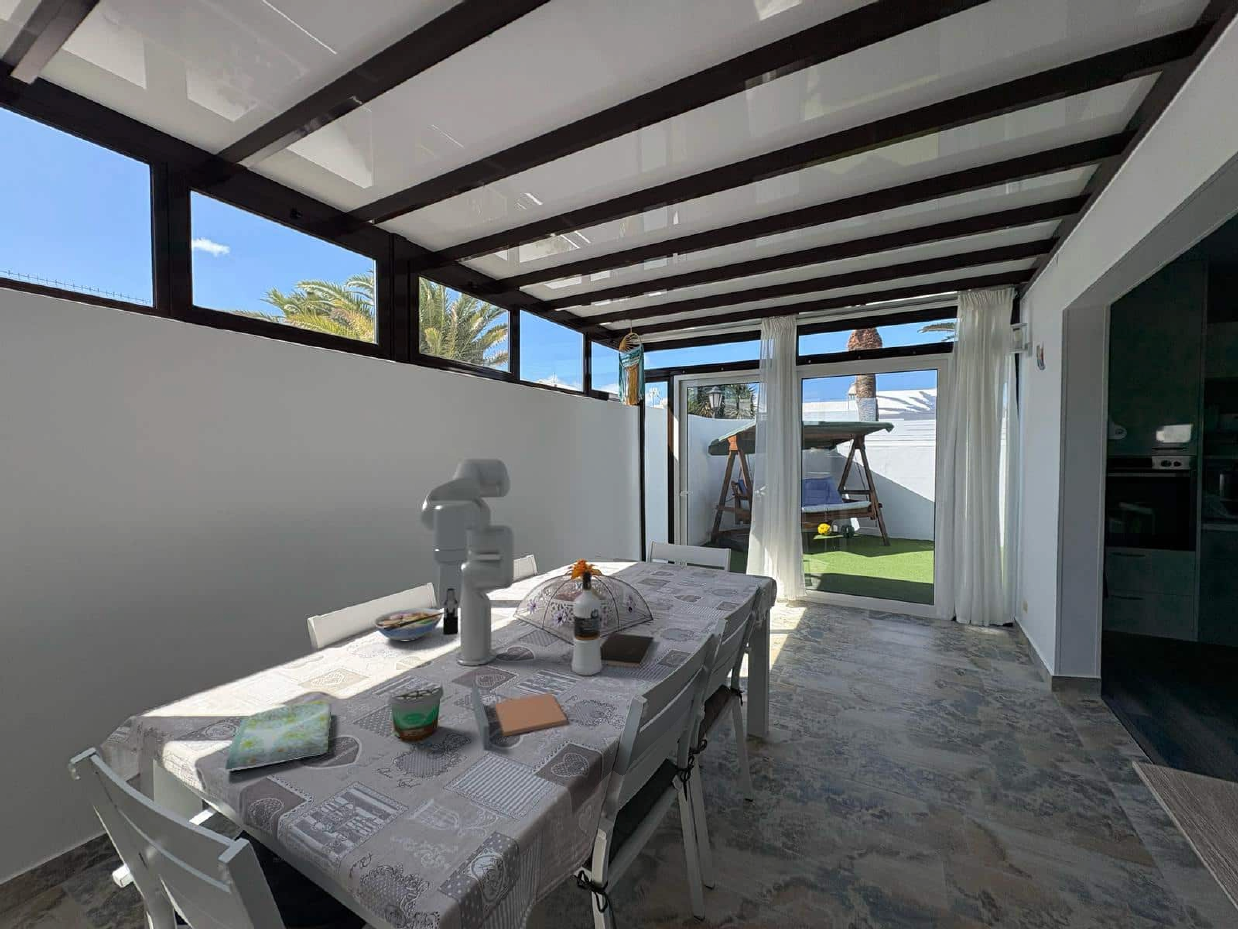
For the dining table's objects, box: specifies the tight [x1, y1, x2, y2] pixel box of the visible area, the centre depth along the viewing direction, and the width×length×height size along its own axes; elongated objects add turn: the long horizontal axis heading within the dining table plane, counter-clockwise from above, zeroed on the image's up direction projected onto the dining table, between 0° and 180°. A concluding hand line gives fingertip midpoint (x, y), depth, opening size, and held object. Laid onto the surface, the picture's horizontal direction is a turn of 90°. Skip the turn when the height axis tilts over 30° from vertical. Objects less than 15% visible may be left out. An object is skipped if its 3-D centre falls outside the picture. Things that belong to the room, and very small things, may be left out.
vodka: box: [571, 570, 603, 676], centre depth 154 cm, size 9×9×30 cm
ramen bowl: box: [373, 607, 444, 641], centre depth 181 cm, size 25×23×8 cm
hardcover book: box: [600, 632, 655, 668], centre depth 169 cm, size 16×23×2 cm
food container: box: [387, 685, 445, 743], centre depth 117 cm, size 12×6×10 cm, turn 117°
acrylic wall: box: [471, 684, 490, 750], centre depth 123 cm, size 22×1×5 cm, turn 22°
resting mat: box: [493, 692, 568, 737], centre depth 127 cm, size 15×15×1 cm
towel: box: [225, 699, 332, 771], centre depth 115 cm, size 18×21×5 cm
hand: (450, 627), depth 121 cm, fingers open, 9 cm apart
